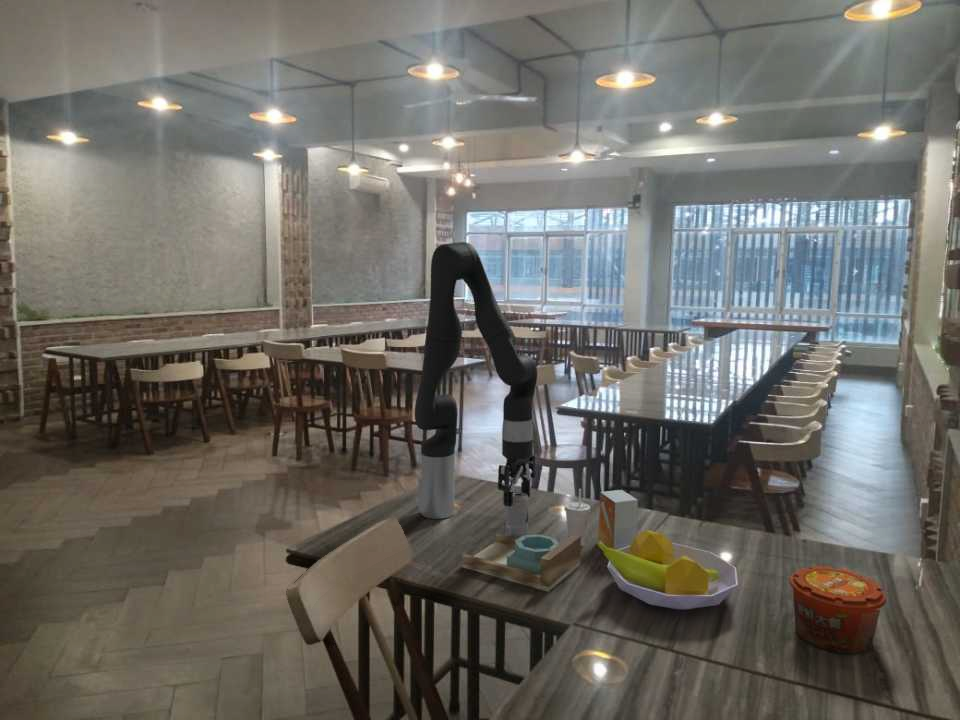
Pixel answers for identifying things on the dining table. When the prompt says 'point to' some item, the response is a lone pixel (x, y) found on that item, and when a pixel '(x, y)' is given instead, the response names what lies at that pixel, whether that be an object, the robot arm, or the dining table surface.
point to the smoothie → (577, 518)
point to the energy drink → (517, 516)
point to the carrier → (530, 552)
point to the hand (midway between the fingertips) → (517, 501)
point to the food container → (836, 608)
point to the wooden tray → (551, 570)
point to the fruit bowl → (670, 572)
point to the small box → (617, 519)
